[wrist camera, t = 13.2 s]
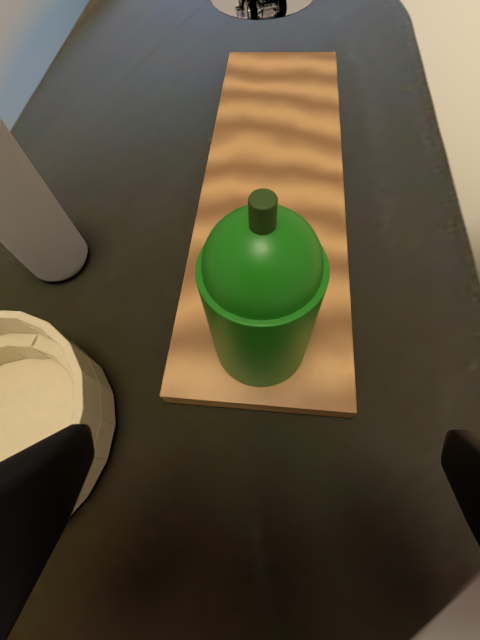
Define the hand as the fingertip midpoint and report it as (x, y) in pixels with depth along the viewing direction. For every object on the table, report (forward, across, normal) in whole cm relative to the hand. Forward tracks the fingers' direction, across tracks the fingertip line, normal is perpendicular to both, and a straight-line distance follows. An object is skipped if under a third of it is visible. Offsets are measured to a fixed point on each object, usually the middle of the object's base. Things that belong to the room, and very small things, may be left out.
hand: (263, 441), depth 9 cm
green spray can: (+13, 0, +3) cm, 14 cm away
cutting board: (+26, -1, -7) cm, 27 cm away
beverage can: (+20, +16, -2) cm, 26 cm away
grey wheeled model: (+54, -1, -35) cm, 64 cm away
